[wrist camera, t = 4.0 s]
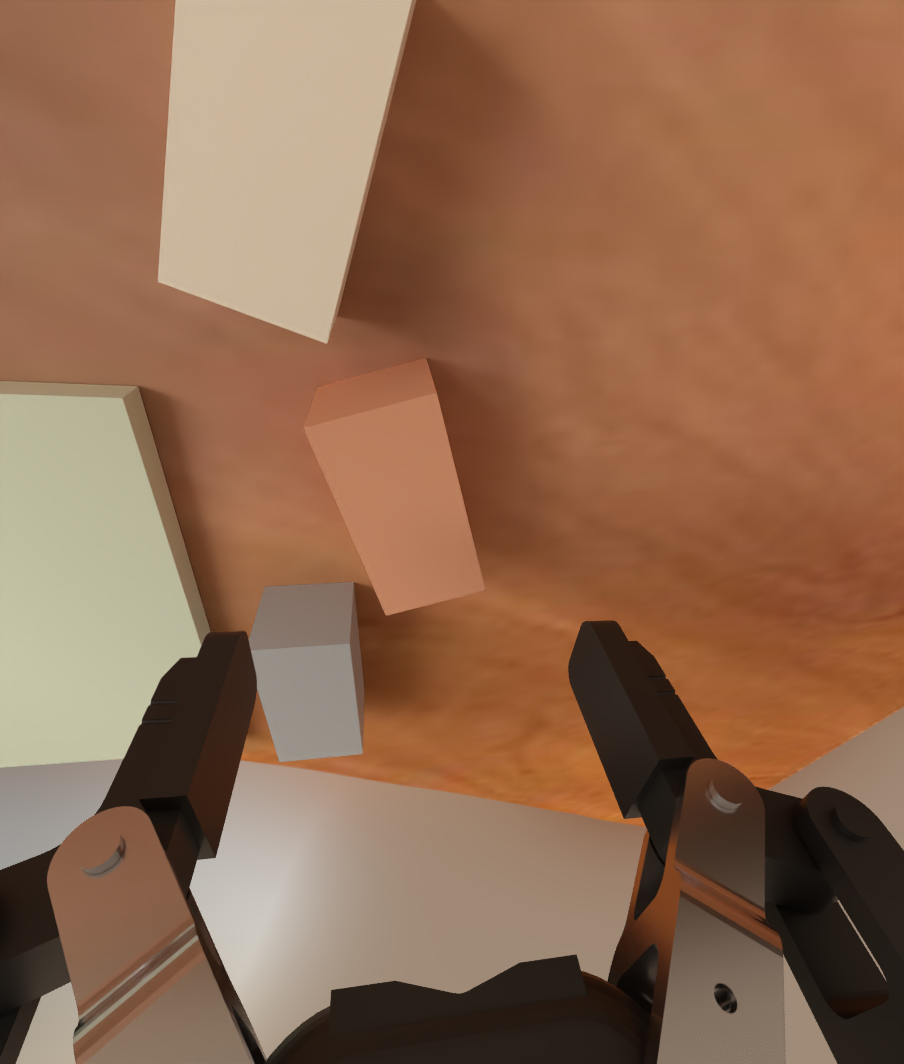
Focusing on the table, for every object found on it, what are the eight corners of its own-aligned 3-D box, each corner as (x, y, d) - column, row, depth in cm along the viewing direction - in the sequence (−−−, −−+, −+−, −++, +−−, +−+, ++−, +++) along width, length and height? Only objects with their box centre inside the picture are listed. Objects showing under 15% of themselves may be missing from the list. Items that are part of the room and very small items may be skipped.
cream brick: (250, -119, 10) (192, -266, 7) (419, -11, 12) (434, -94, 8) (207, 264, 14) (157, 281, 11) (337, 315, 16) (326, 343, 12)
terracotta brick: (317, 385, 17) (303, 428, 14) (425, 356, 17) (437, 392, 13) (384, 553, 21) (385, 615, 18) (469, 532, 21) (485, 590, 18)
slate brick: (265, 583, 22) (245, 650, 18) (353, 579, 22) (349, 643, 19) (291, 692, 26) (279, 762, 23) (364, 686, 27) (362, 753, 23)
